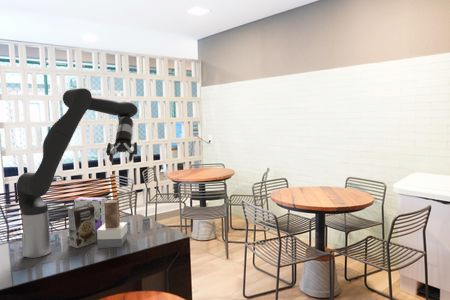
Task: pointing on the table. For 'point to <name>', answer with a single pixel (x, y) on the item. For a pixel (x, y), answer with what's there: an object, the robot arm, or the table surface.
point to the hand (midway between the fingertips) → (120, 161)
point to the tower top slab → (112, 231)
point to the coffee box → (81, 226)
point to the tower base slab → (111, 242)
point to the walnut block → (112, 214)
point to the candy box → (98, 208)
